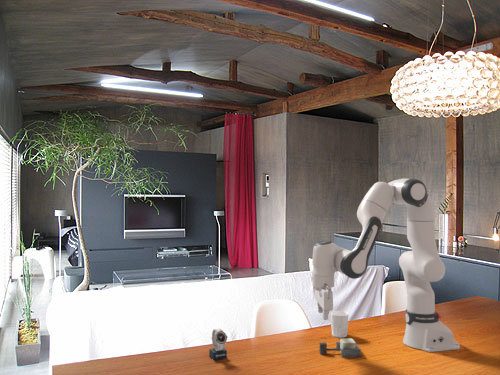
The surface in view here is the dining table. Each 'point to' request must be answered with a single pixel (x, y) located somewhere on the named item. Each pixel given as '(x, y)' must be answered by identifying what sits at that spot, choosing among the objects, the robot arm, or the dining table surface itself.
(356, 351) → the dark grey tray
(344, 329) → the white cup
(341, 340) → the hammer
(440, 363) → the dining table surface
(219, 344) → the watch
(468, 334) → the dining table surface
